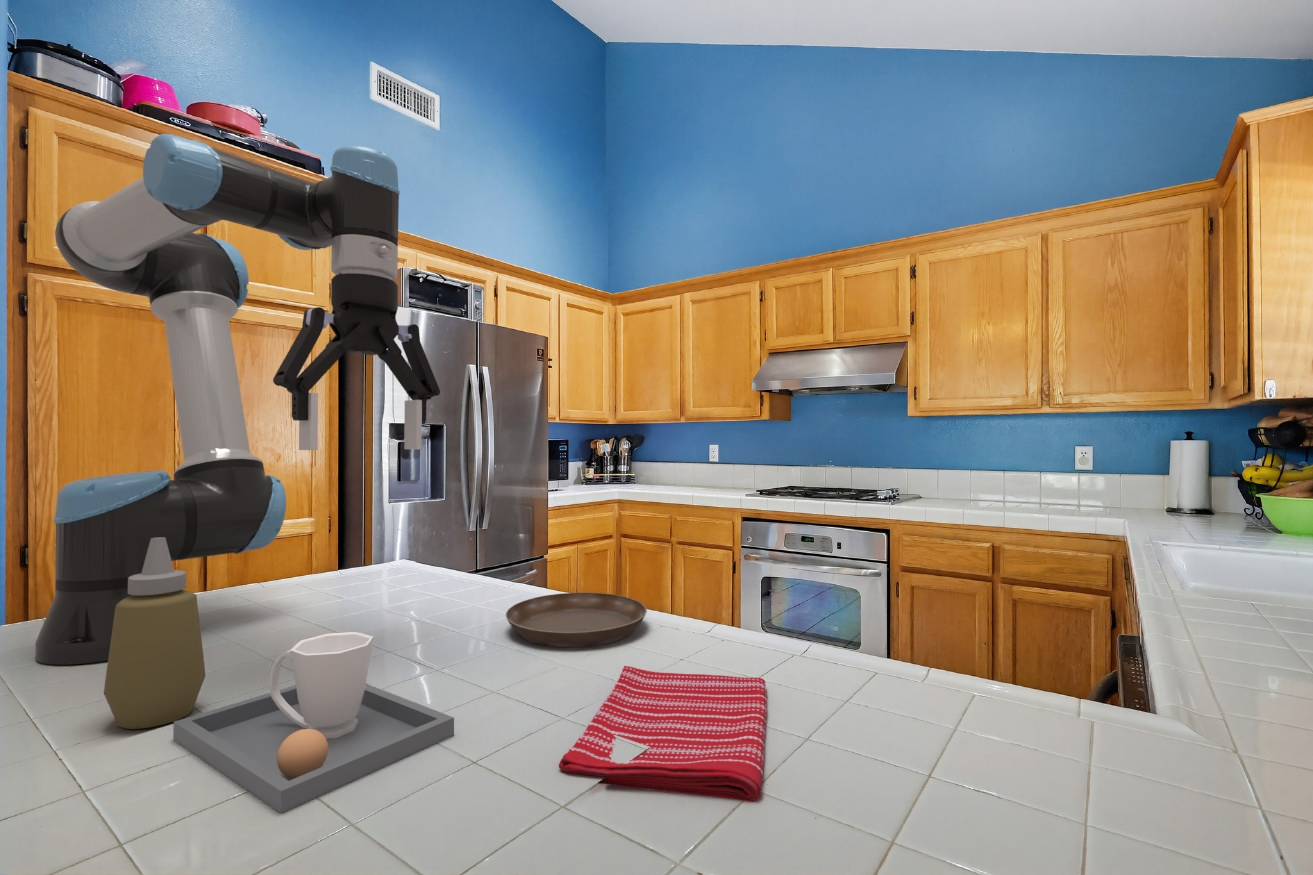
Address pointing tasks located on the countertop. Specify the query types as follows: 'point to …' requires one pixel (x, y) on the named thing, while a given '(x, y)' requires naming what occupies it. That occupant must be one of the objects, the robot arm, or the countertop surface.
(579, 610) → the plant saucer
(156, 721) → the squeeze bottle
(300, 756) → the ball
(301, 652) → the cup
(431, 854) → the countertop surface
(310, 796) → the tray
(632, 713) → the dish towel
